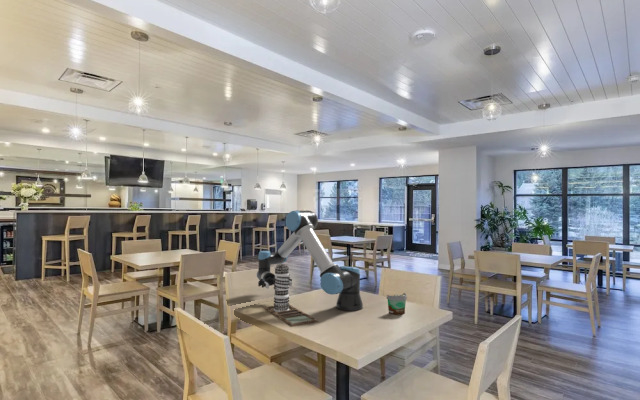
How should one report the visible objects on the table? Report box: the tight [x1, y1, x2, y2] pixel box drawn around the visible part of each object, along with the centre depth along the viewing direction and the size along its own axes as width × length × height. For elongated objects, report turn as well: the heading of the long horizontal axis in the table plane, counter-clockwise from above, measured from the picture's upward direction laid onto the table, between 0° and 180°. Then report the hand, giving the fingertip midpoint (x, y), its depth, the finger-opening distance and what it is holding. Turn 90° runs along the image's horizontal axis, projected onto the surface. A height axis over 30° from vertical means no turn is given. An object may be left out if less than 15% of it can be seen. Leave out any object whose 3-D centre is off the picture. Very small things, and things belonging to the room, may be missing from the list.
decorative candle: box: [273, 263, 291, 312], centre depth 196 cm, size 9×9×25 cm
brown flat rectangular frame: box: [265, 304, 318, 327], centre depth 187 cm, size 34×14×1 cm, turn 30°
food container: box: [386, 292, 408, 316], centre depth 190 cm, size 12×6×10 cm, turn 117°
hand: (279, 285), depth 198 cm, fingers open, 13 cm apart
